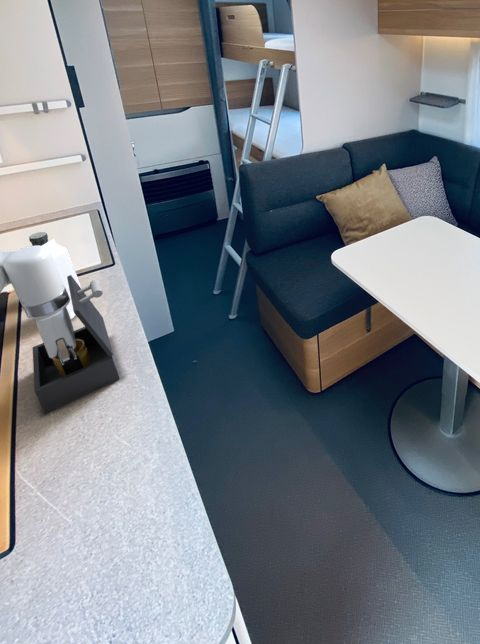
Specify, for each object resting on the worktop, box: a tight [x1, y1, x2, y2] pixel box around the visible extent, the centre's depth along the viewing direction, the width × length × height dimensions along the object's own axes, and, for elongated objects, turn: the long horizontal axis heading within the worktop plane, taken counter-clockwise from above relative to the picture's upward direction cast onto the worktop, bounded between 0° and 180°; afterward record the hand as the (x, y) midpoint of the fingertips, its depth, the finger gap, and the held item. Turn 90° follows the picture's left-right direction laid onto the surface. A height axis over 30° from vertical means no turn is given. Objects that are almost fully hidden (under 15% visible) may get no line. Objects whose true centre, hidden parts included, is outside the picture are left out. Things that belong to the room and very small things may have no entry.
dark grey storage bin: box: [32, 326, 120, 415], centre depth 94 cm, size 14×16×6 cm
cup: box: [52, 339, 91, 376], centre depth 93 cm, size 6×6×5 cm
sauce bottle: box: [28, 231, 50, 246], centre depth 119 cm, size 6×6×20 cm
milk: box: [42, 238, 83, 320], centre depth 111 cm, size 6×6×22 cm
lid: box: [67, 275, 114, 357], centre depth 94 cm, size 15×16×5 cm
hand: (74, 363), depth 94 cm, fingers closed on cup, 6 cm apart
